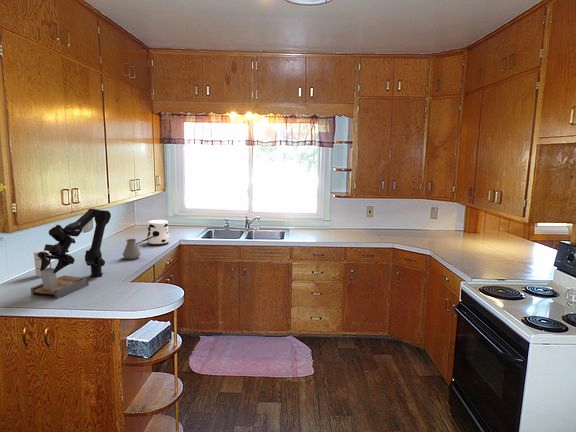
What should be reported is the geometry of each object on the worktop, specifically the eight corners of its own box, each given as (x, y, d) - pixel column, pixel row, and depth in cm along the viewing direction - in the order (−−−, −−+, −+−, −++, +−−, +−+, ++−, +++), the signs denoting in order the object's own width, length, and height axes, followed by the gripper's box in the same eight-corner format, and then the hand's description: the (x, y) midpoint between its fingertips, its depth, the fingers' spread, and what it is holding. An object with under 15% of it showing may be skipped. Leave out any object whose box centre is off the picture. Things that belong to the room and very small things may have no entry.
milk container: (174, 243, 323) (173, 221, 320) (157, 247, 308) (156, 224, 305) (159, 240, 331) (158, 218, 329) (142, 244, 317) (141, 221, 314)
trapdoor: (63, 281, 221) (62, 275, 220) (82, 284, 218) (81, 278, 217) (35, 296, 203) (33, 290, 202) (54, 299, 200) (53, 292, 199)
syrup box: (44, 277, 231) (42, 252, 229) (35, 276, 232) (33, 252, 230) (51, 274, 237) (50, 250, 235) (43, 273, 238) (41, 249, 236)
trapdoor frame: (64, 282, 224) (63, 275, 223) (88, 285, 220) (88, 278, 219) (31, 295, 203) (30, 287, 202) (57, 298, 199) (56, 291, 199)
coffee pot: (122, 260, 269) (121, 239, 266) (123, 256, 280) (122, 235, 277) (155, 258, 276) (155, 237, 273) (155, 254, 286) (155, 234, 284)
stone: (43, 289, 203) (40, 271, 201) (50, 285, 207) (47, 267, 205) (50, 290, 202) (48, 271, 200) (57, 286, 206) (55, 268, 204)
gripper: (38, 236, 207) (21, 262, 198) (68, 239, 202) (52, 266, 194) (51, 247, 216) (36, 273, 207) (81, 250, 211) (66, 276, 202)
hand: (47, 272), depth 202 cm, fingers open, 8 cm apart
